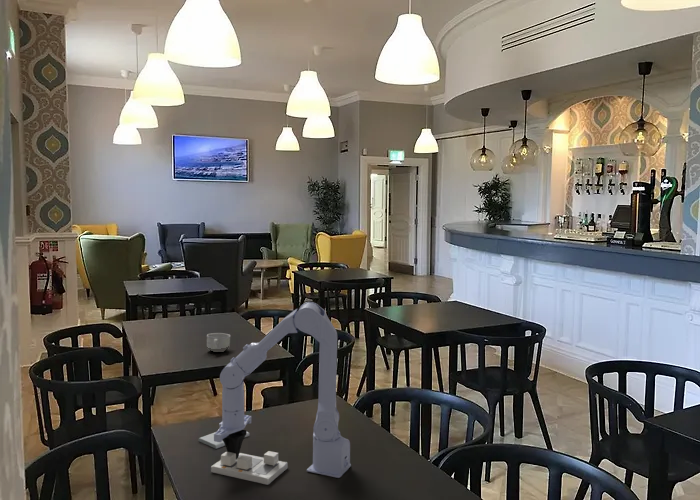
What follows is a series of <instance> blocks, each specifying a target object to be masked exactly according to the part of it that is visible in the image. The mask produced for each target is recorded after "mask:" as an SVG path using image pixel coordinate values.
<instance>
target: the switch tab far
mask: <svg viewBox="0 0 700 500" xmlns="http://www.w3.org/2000/svg"><path fill="white" fill-rule="evenodd" d="M220 460H221V464H223V465H228V466H232V465H233V464H234V463H236V453H231V452H227V451H225V452H223V453H222V454H221V455H220Z"/></svg>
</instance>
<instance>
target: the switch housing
mask: <svg viewBox="0 0 700 500" xmlns="http://www.w3.org/2000/svg"><path fill="white" fill-rule="evenodd" d="M241 455H245V456H250V457H252V466H251V467H250V468H249V469H247V470H245V469H241V468H237V459H236V463H234V464H233V465H232V466H228V465H223V464H221V459H219V460H218V461H217V462H215V463H214V464H213V465H211V466H210V472H211V473H214V474H218V475H222V476H223V475H224V476H227V477H232V478H236V479H240V480H245V481H250V482H254V483H258V484H263V485H267V486H268V485H270V484H271V483H273V481H274V480H275V479H276V478H278V477H279V476H280V475H281V474H283V473H284V471H286V470H287V469H288V468H289V466H288V462H287V461H282V460H278V463H276V464H275V465H269V464H264V456H257V455H251V454H248V453H243V452H239V456H238V458H239V457H240V456H241Z"/></svg>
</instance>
